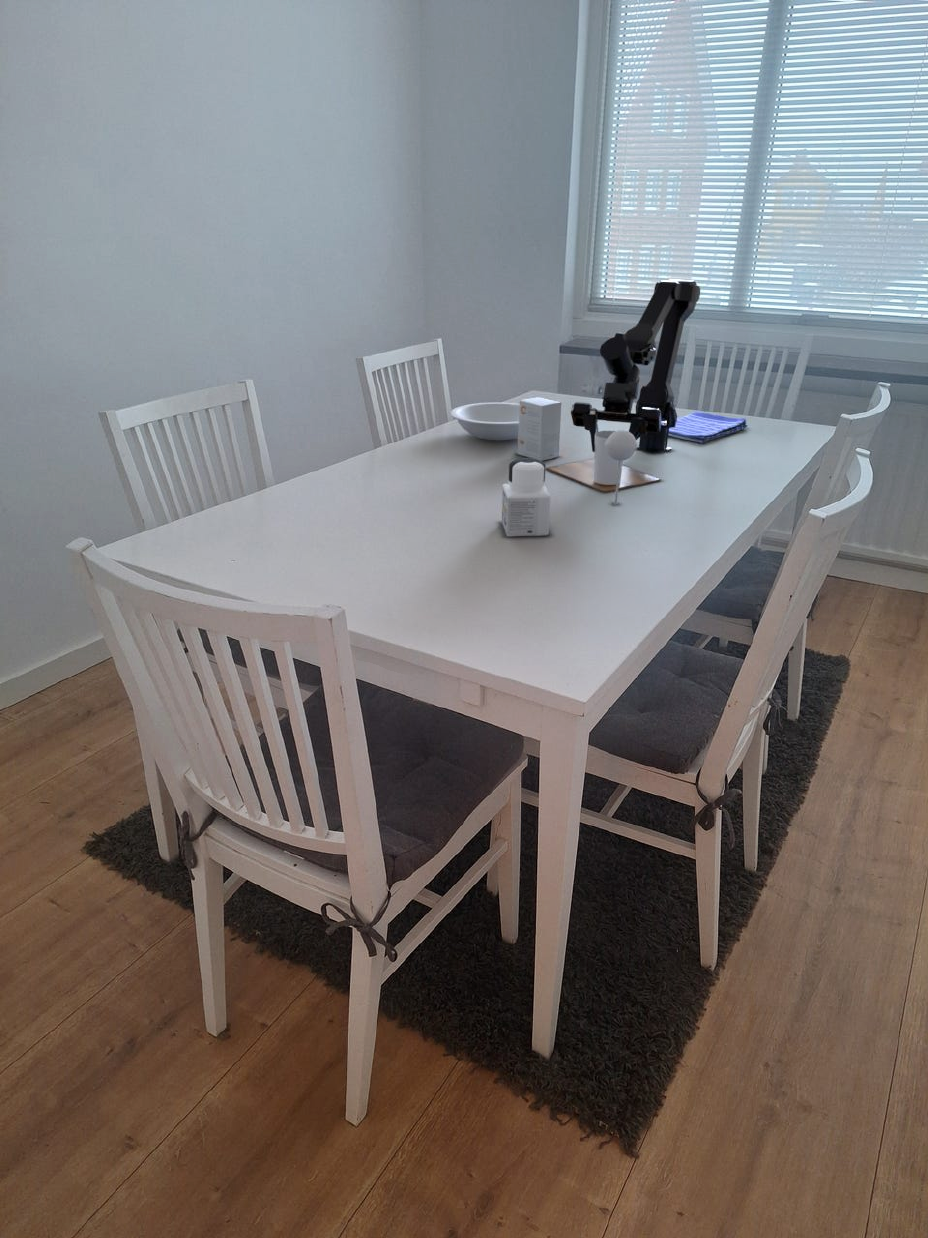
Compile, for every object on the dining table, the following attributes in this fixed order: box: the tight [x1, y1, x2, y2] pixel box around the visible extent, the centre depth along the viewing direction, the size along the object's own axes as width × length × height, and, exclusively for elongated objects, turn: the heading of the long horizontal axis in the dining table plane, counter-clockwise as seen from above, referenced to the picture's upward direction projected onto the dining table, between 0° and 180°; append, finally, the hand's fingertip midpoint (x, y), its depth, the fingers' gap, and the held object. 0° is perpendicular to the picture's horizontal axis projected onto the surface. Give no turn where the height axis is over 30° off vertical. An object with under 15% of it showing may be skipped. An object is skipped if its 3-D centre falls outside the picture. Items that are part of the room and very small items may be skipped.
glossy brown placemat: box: [546, 458, 661, 494], centre depth 182 cm, size 16×20×1 cm
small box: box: [517, 396, 562, 462], centre depth 193 cm, size 8×6×13 cm
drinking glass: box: [593, 430, 624, 485], centre depth 173 cm, size 7×7×10 cm
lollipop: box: [605, 429, 638, 506], centre depth 160 cm, size 6×6×15 cm
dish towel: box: [668, 411, 748, 444], centre depth 218 cm, size 17×24×3 cm
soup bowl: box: [450, 402, 520, 441], centre depth 209 cm, size 24×24×7 cm
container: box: [501, 457, 552, 538], centre depth 148 cm, size 8×8×13 cm
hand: (608, 452), depth 171 cm, fingers closed on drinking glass, 6 cm apart
